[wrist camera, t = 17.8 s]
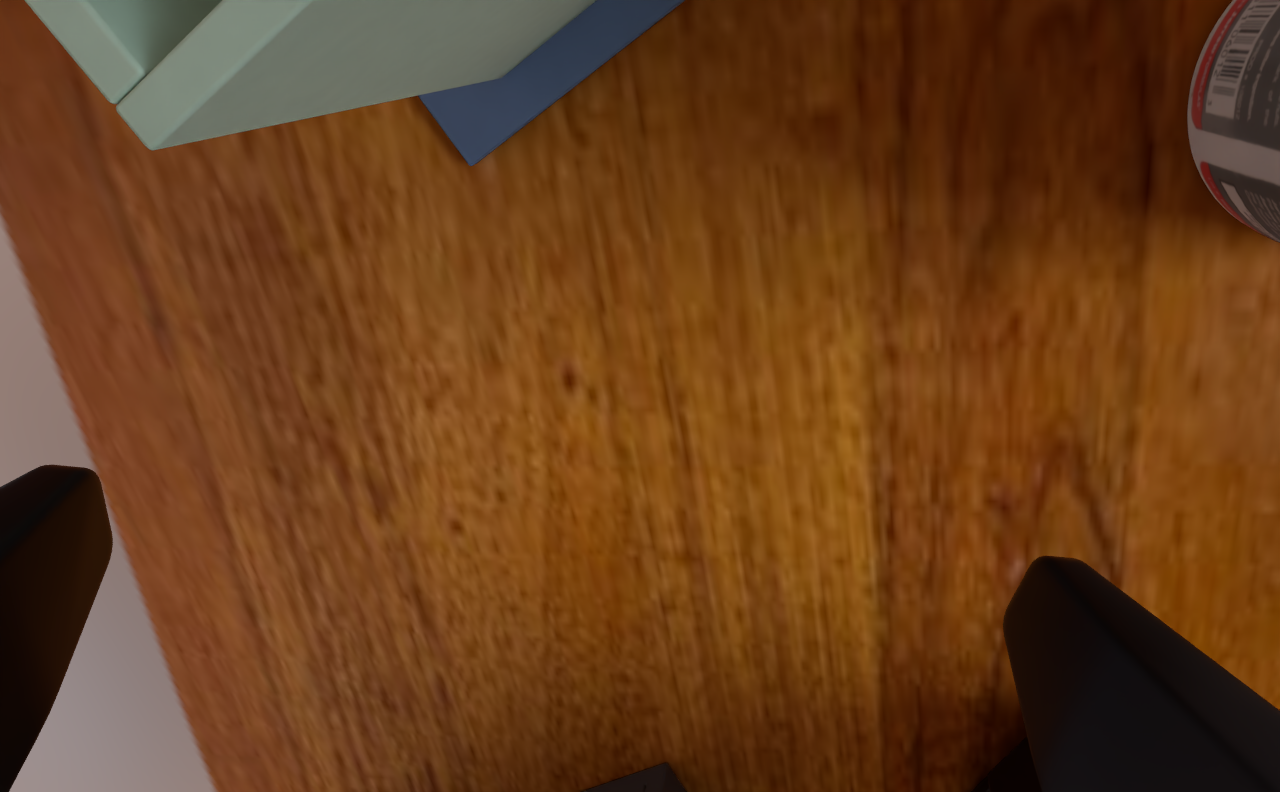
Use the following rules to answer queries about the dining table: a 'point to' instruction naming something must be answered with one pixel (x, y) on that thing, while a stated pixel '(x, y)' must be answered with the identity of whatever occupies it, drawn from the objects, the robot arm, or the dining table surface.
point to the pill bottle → (1240, 114)
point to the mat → (540, 76)
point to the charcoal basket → (644, 782)
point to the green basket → (287, 55)
